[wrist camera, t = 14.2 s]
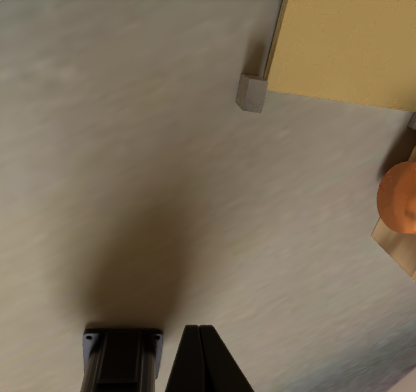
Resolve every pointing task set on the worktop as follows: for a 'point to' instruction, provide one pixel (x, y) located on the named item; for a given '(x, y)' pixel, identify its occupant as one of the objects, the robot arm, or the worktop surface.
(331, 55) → the plate
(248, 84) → the keeper bracket
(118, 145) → the worktop surface
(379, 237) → the block
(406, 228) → the hitch pin
